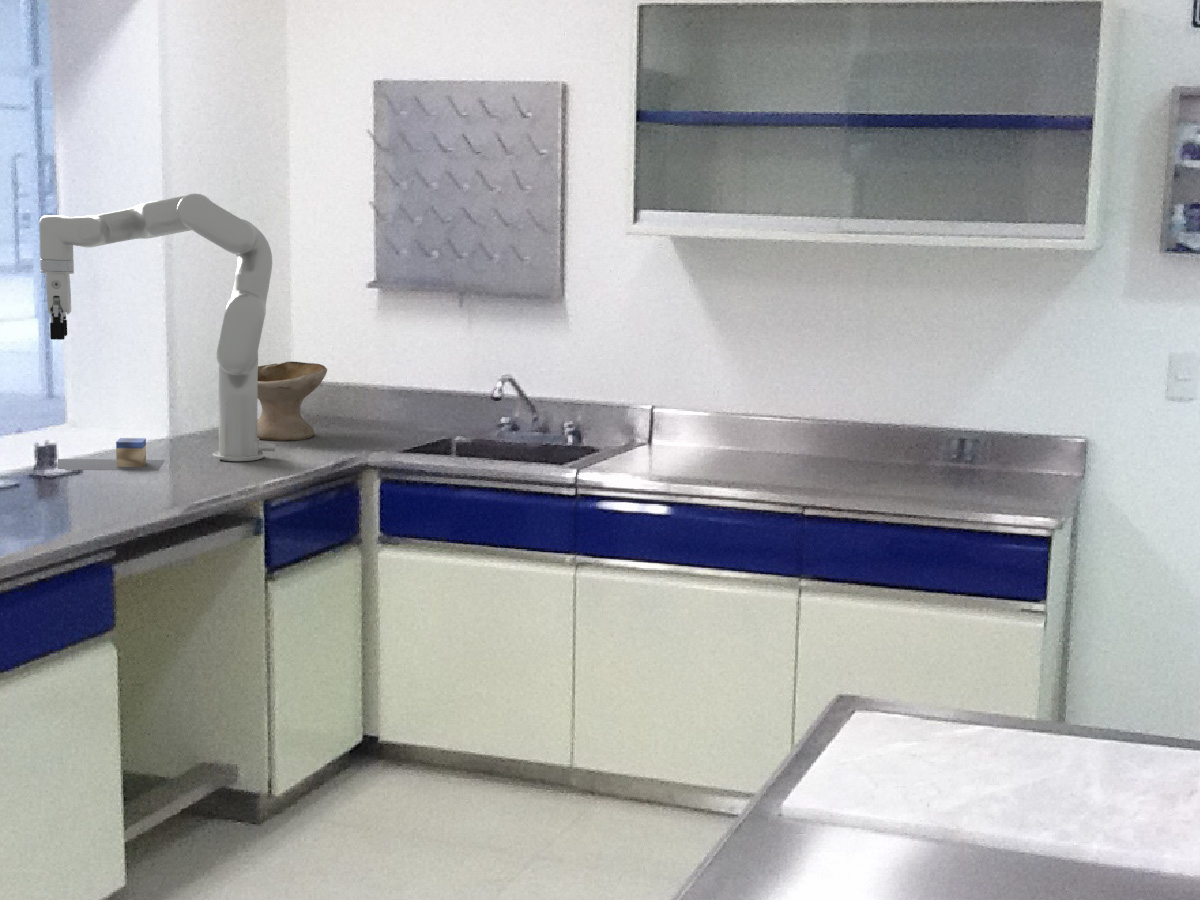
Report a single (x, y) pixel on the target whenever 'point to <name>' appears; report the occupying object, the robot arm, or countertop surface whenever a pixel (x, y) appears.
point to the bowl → (286, 399)
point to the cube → (131, 452)
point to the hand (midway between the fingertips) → (59, 337)
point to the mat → (104, 464)
